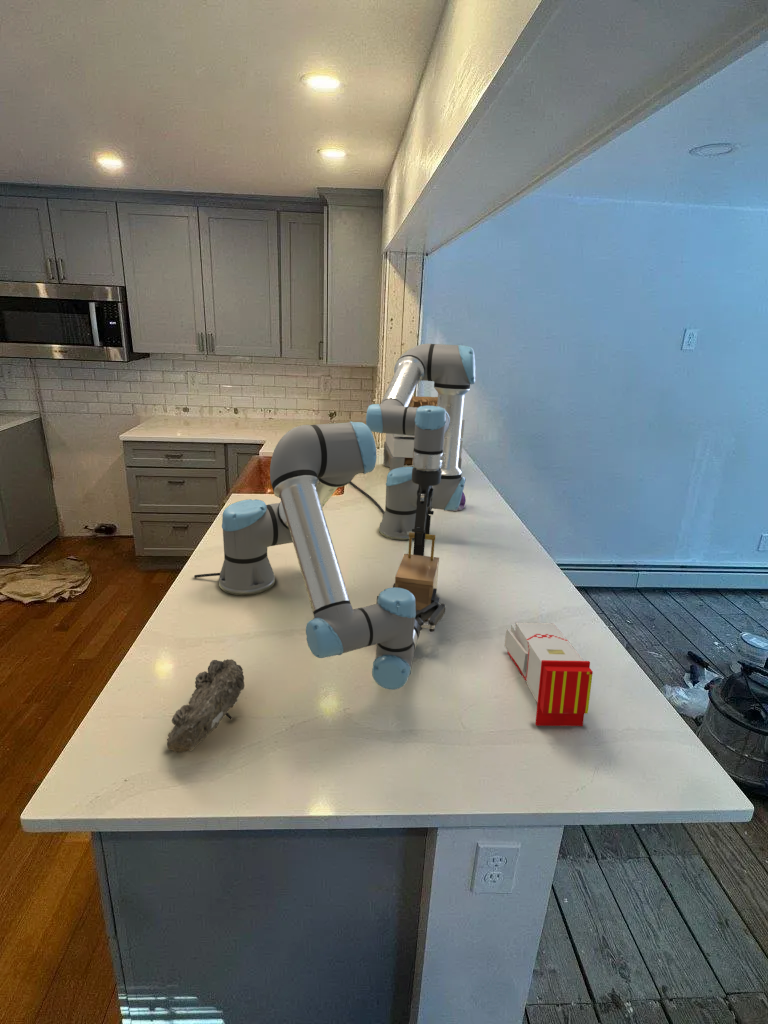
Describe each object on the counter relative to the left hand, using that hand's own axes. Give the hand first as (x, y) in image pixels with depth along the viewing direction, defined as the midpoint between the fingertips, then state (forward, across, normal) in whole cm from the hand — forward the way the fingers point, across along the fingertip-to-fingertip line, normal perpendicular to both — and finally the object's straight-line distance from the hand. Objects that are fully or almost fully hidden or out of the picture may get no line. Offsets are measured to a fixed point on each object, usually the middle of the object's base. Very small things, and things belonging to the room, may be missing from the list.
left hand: (414, 590), depth 147 cm
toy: (-23, +31, -6) cm, 39 cm away
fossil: (-50, -32, -6) cm, 59 cm away
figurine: (+87, +5, -6) cm, 87 cm away
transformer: (+133, -16, -6) cm, 134 cm away
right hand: (+9, 0, +9) cm, 13 cm away
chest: (+4, 0, -6) cm, 7 cm away
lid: (+4, 0, +4) cm, 5 cm away
